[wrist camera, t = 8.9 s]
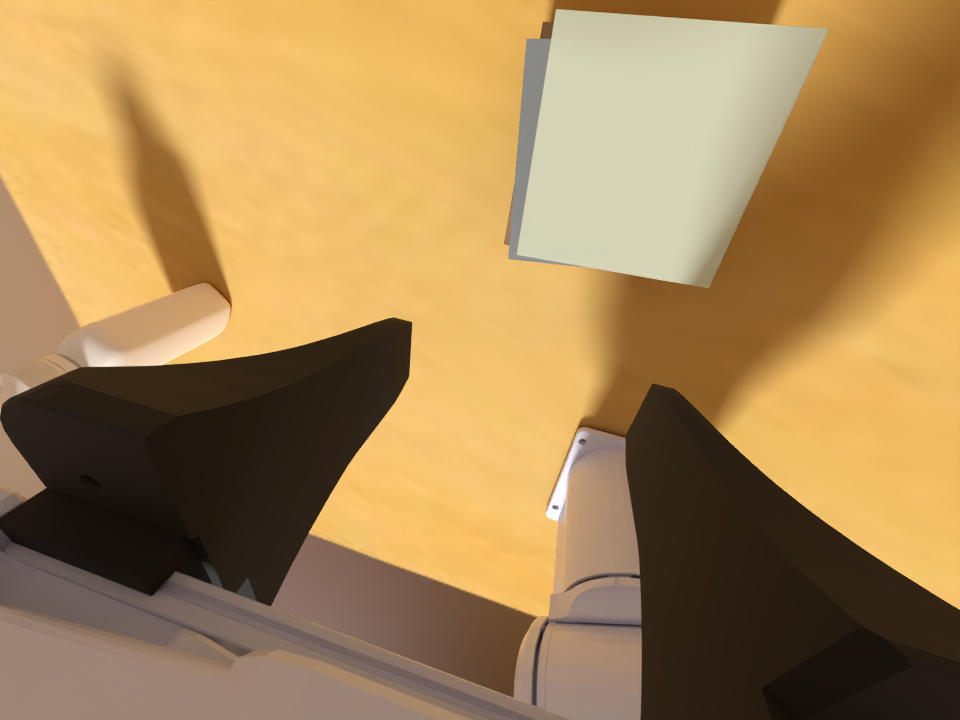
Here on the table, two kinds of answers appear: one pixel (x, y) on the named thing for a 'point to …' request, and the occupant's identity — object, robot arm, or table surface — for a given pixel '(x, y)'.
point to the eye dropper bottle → (130, 338)
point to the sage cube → (656, 138)
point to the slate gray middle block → (528, 136)
